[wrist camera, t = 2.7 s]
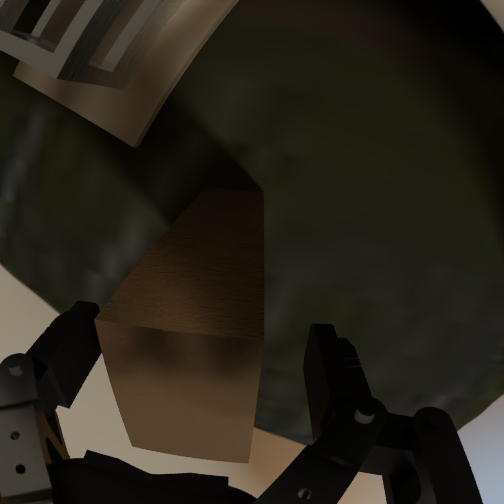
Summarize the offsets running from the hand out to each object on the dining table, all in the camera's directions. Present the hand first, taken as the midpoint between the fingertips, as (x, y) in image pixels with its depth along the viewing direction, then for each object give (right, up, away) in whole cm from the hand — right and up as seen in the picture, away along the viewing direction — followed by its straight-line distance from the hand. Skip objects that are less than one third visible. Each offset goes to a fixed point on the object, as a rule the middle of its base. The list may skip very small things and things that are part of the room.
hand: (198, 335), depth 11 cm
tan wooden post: (+1, +5, +11) cm, 12 cm away
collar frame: (-7, +20, +5) cm, 22 cm away
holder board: (-7, +20, +5) cm, 22 cm away
